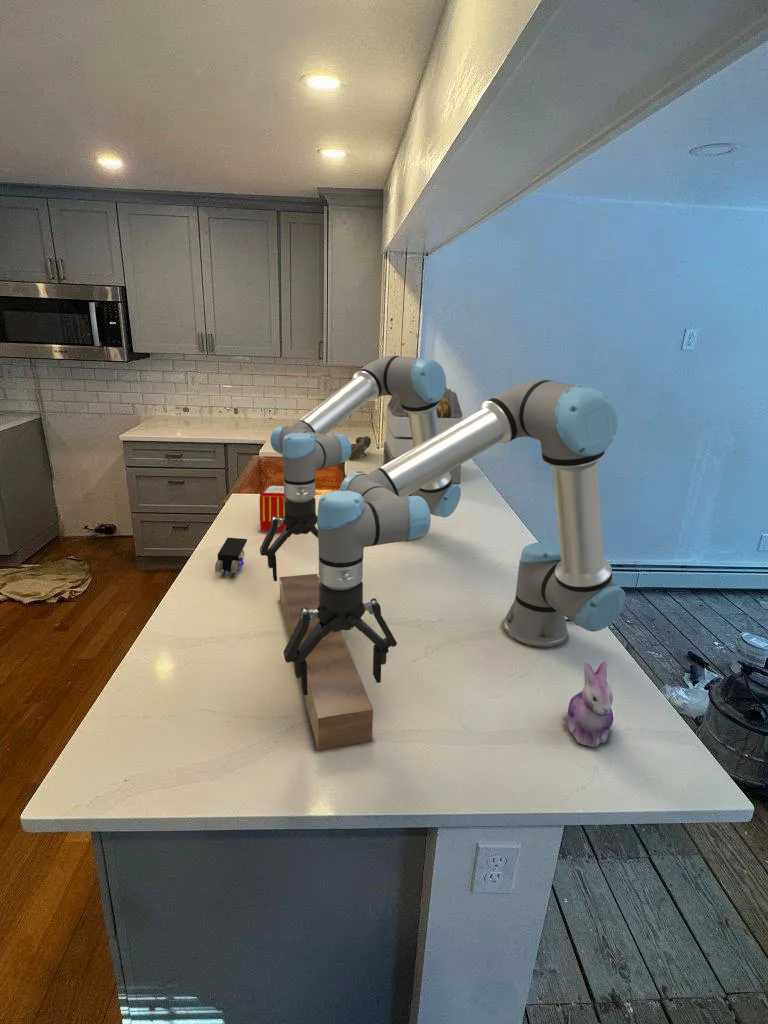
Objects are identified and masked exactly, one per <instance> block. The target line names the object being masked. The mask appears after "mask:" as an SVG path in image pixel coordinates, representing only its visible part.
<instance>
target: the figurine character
mask: <svg viewBox="0 0 768 1024" xmlns="http://www.w3.org/2000/svg"><path fill="white" fill-rule="evenodd" d="M247 542H248V538H240V537H226V539H225V541H224V543H223V544H222V546H221V547H220V549H219V551H218V552H217V560H216V562H215V564H214V572H215V573H221V577H222V578H224V577H225V576H226V574H227V573H230V574H231V573H232V574H231V578H234V577H235V575H236V573H237V572H239V571H240V567H242V566H243V565H244V564H245V562H244V558H245V551H244V547H245V546H246V544H247Z"/></svg>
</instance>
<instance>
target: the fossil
mask: <svg viewBox="0 0 768 1024" xmlns="http://www.w3.org/2000/svg"><path fill="white" fill-rule="evenodd" d="M350 444H351V455H350V458H349V459H348V460H350V461H352V460H354V459H356V458H358V457H359V456H361V455H362V454H363V455H364V457H366V456H367V455H366V453H365V451H366V450H367V449H368V448H370V446H371V445H372V439H371V437H370V436H368V435H365V436H358V437H356V439H355V443H350Z"/></svg>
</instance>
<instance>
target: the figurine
mask: <svg viewBox="0 0 768 1024" xmlns="http://www.w3.org/2000/svg"><path fill="white" fill-rule="evenodd" d="M583 676H584V677H583V678H584V686H583V688H582V690H581V691H580V692H579V693H577V694H575V695H574V696H572V698H571V699H570V700H569V703H568V709H567V714H566V725H567V728H568V731H569V732H570V733H571V734H572V736H573V737H574V738H575V740H576V742H577V743H578V744H580V745H584V746H588V747H593V748H596V747H598V746H599V745H600V744H601V743H602V744H603V743H605V742H606V741H607V739H608V737H609V734H610V728H611V727H612V726H613V723H614V712H613V709H612V704H613V701H614V697H613V692H612V689H611V687H610V686H609V684H608V680H607V677H608V663H607V661H606V660H602V661H600V663H599V664H598V667H597V670H596V671H595V670H594V669H593V667H592V665H591V664H590V663H589V662H588V661H584V662H583Z"/></svg>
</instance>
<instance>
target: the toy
mask: <svg viewBox="0 0 768 1024" xmlns="http://www.w3.org/2000/svg"><path fill="white" fill-rule="evenodd" d="M285 498H286V497H285V496H284V485H270V486H268V488H267V489H265V490H264V492H259V526H260V528H259V529H260V531H259V532H268V531H269V529H270V527H271V524H272V517H273V516H276V517H277V518H284V516H285V503H284V500H285ZM285 527H286V526H285V524H284V523H282V524H281V526H280V527H278V528H277V531H276V532H279V533H282V532H283V530H284V528H285Z"/></svg>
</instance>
